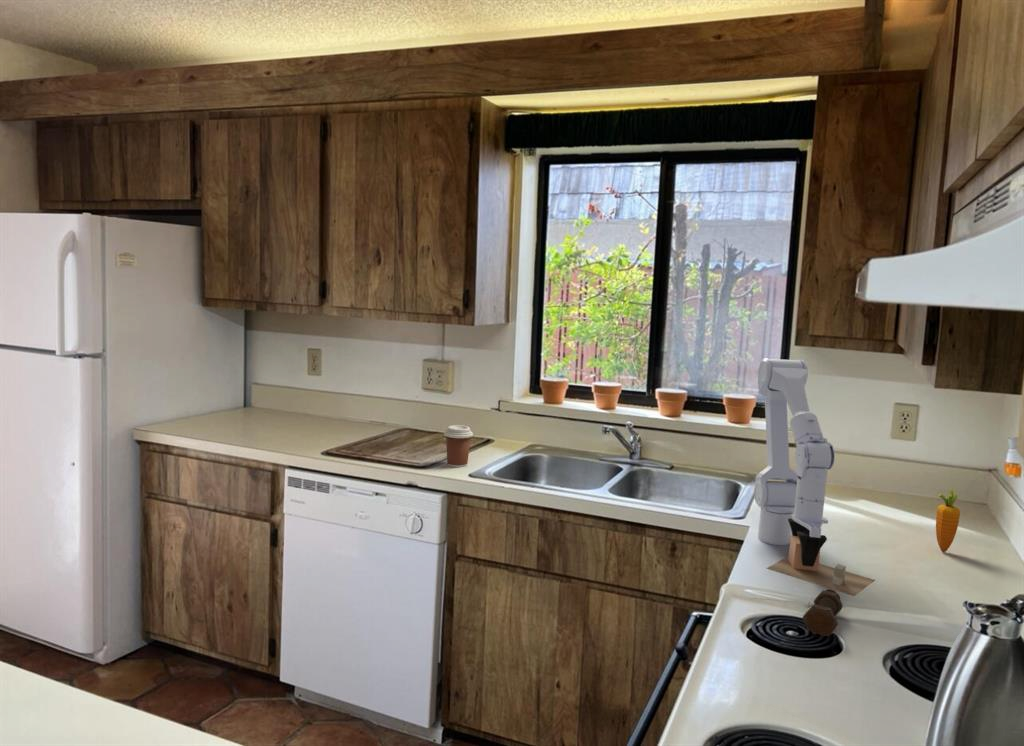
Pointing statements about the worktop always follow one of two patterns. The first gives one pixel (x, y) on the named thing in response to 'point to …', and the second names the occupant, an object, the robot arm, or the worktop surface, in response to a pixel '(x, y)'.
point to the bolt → (823, 613)
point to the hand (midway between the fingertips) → (803, 558)
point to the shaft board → (825, 576)
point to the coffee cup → (458, 445)
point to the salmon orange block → (799, 555)
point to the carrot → (947, 521)
